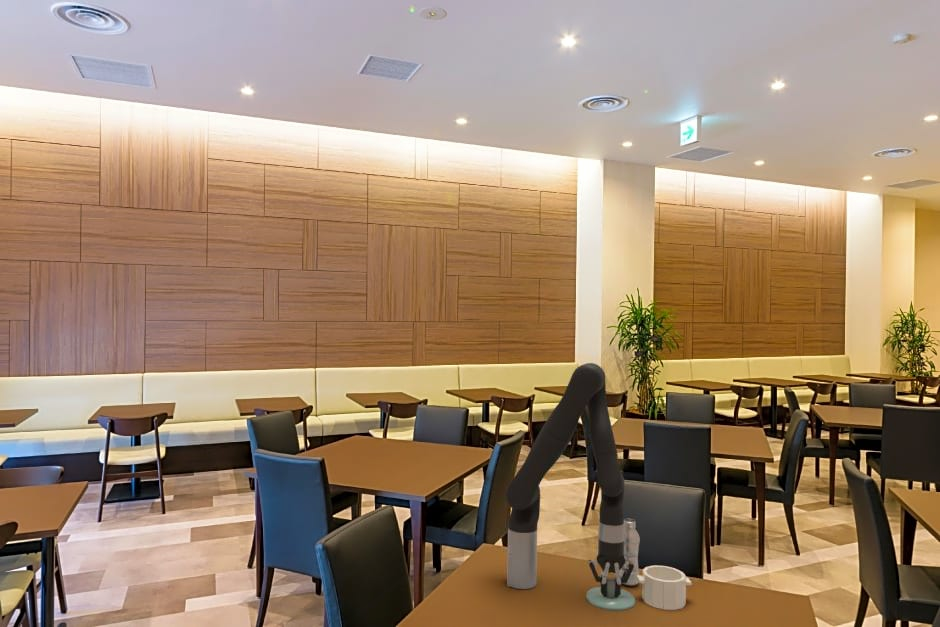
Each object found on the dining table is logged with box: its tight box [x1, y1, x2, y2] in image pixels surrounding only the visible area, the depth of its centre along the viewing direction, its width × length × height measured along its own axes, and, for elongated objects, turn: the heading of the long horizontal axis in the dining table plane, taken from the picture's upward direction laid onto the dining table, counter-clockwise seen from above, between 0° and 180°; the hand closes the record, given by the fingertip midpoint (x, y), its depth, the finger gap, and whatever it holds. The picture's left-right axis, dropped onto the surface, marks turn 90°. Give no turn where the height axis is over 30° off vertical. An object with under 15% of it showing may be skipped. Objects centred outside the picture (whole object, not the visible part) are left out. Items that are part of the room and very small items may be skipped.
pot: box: [637, 564, 693, 611], centre depth 182 cm, size 15×12×8 cm
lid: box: [585, 577, 636, 612], centre depth 182 cm, size 14×14×6 cm
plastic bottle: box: [620, 518, 641, 587], centre depth 193 cm, size 6×7×20 cm
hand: (610, 595), depth 182 cm, fingers closed on lid, 3 cm apart
